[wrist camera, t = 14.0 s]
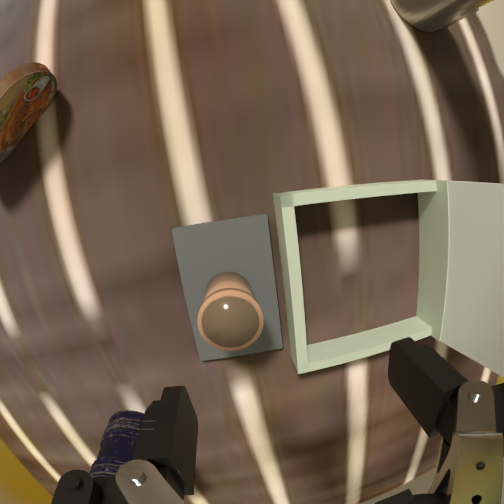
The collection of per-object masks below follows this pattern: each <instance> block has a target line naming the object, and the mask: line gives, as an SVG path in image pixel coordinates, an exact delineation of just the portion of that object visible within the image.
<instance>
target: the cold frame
mask: <svg viewBox="0 0 504 504" xmlns="http://www.w3.org/2000/svg"><path fill="white" fill-rule="evenodd" d="M407 193H418V209H419V283H418V300H417V312H416V316H415V317H412V318H409V319H405V320H402V321H399V322H396V323H392V324H389V325H385V326H382V327H378V328H375V329H371V330H367V331H364V332H360V333H356V334H352V335H348V336H344V337H340V338H336V339H332V340H328V341H323V342H319V343H315V344H310V345H307V343H306V328H305V314H304V302H303V290H302V278H301V268H300V257H299V247H298V238H297V228H296V219H295V211H294V206H298V205H306V204H314V203H322V202H331V201H339V200H348V199H357V198H366V197H376V196H386V195H397V194H407ZM273 201H274V208H275V216H276V224H277V232H278V241H279V249H280V258H281V266H282V275H283V284H284V294H285V303H286V313H287V322H288V333H289V343H290V354H291V358H292V361H293V363H294V365H295V368H296V370H297V373H298V374H301V373H306V372H310V371H315V370H319V369H323V368H327V367H331V366H335V365H339V364H343V363H347V362H350V361H354V360H357V359H361V358H364V357H368V356H371V355H374V354H378V353H381V352H384V351H387V350H390V346H391V343H392V342H395V341H398V340H400V339H403V338H406V337H411V338H412V339H413V340H414V341H417V340H420V339H422V338H425V337H428V336H430V335H431V336H432V337H434V338H435V339H436V340H437V341H439V342H440V341H441V342H442V343H444V344H446V345H448V346H449V347H451V348H453V349H455V350H456V351H458V352H460V353H462V354H464V355H465V356H467V357H469V358H471V359H472V360H474V361H476V362H478V363H479V364H481V365H483V366H485V367H486V368H488V369H490V370H492V371H493V372H495V373H497V374H499V375H500V376H502V377H504V184H499V183H484V182H465V181H445V180H410V181H395V182H381V183H369V184H358V185H347V186H336V187H327V188H317V189H308V190H300V191H291V192H283V193H275V194H273Z"/></svg>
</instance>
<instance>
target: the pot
mask: <svg viewBox="0 0 504 504" xmlns="http://www.w3.org/2000/svg"><path fill="white" fill-rule="evenodd" d="M197 324H198V329H199V332H200V334H201V336H202V337H203V339H204V340H205V341H206V342H207V343H208V344H210V345H211V346H213V347H215V348H217V349H220V350H225V351H236V350H240V349H243V348H246V347H248V346H249V345H251V344H252V343H253V342H255V341H256V340H257V338H258V337H259V335H260V334H261V332H262V329H263V324H264V318H263V313H262V310H261V307H260V305H259V303H258V302H257V300H256V299H255V298H254V295H253V292H252V288H251V286H250V284H249V282H248V281H247V280H246V279H245V278H244V277H243V276H241V275H240V274H237V273H234V272H223V273H220V274H217V275H215V276H214V277H213V278H212V279H211V280H210V281H209V282H208V284H207V286H206V288H205V294H204V301H203V302H202V304H201V306H200V309H199V313H198V319H197Z"/></svg>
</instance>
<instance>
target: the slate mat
mask: <svg viewBox="0 0 504 504" xmlns="http://www.w3.org/2000/svg"><path fill="white" fill-rule="evenodd" d="M172 234H173V240H174V245H175V250H176V255H177V261H178V266H179V271H180V275H181V280H182V285H183V290H184V294H185V299H186V303H187V308H188V312H189V316H190V320H191V325H192V329H193V333H194V337H195V341H196V345H197V349H198V353H199V357H200V360H201V361H205V360H213V359H220V358H227V357H234V356H241V355H247V354H253V353H259V352H265V351H270V350H276V349H281V348H283V345H282V336H281V327H280V318H279V309H278V300H277V292H276V283H275V275H274V266H273V258H272V250H271V242H270V234H269V226H268V219H267V214H260V215H253V216H246V217H240V218H233V219H227V220H220V221H214V222H208V223H201V224H195V225H189V226H183V227H177V228H173V229H172ZM223 272H234V273H237V274H240V275H241V276H243V277H244V278H245V279H246V280H247V281H248V282H249V284H250V286H251V288H252V292H253V295H254V298H255V299H256V300H257V302H258V303H259V305H260V307H261V310H262V313H263V318H264V324H263V329H262V332H261V334H260V335H259V337H258V338H257V340H256V341H255V342H253V343H252V344H251V345H249V346H248V347H246V348H243V349H240V350H236V351H225V350H220V349H217V348H215V347H213V346H211V345H210V344H208V343H207V342H206V341H205V340H204V339H203V337H202V336H201V334H200V332H199V329H198V324H197V319H198V313H199V309H200V306H201V304H202V302H203V301H204V294H205V288H206V286H207V284H208V282H209V281H210V280H211V279H212V278H213V277H214V276H215V275H217V274H220V273H223Z"/></svg>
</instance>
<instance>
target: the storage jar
mask: <svg viewBox="0 0 504 504" xmlns="http://www.w3.org/2000/svg"><path fill="white" fill-rule="evenodd" d="M143 418H144V413H141V412H137V411H128V410H126V411H120V412H117V413H115V414H113V415H112V416H111V418H110V420H109V423H108V425H107V427H106V429H105V431H104V434H103V438H102V441H101V444H100V447H101V448H100V451H99V454H98V457H97V460H95V461H94V463H93V464H92V466H91V471H90V472H89V474H90V476H91V477H92V478H100V477H106V476H111V475H115V474H116V473H117V471H118V469H119V468H120V467H121V466H122V465H123V464H125V463H127V462H129V461H131V460H132V457H133V453H134V450H135V446H136V442H137V439H138V435H139V432H140V430H141V425H142V422H143Z"/></svg>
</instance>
